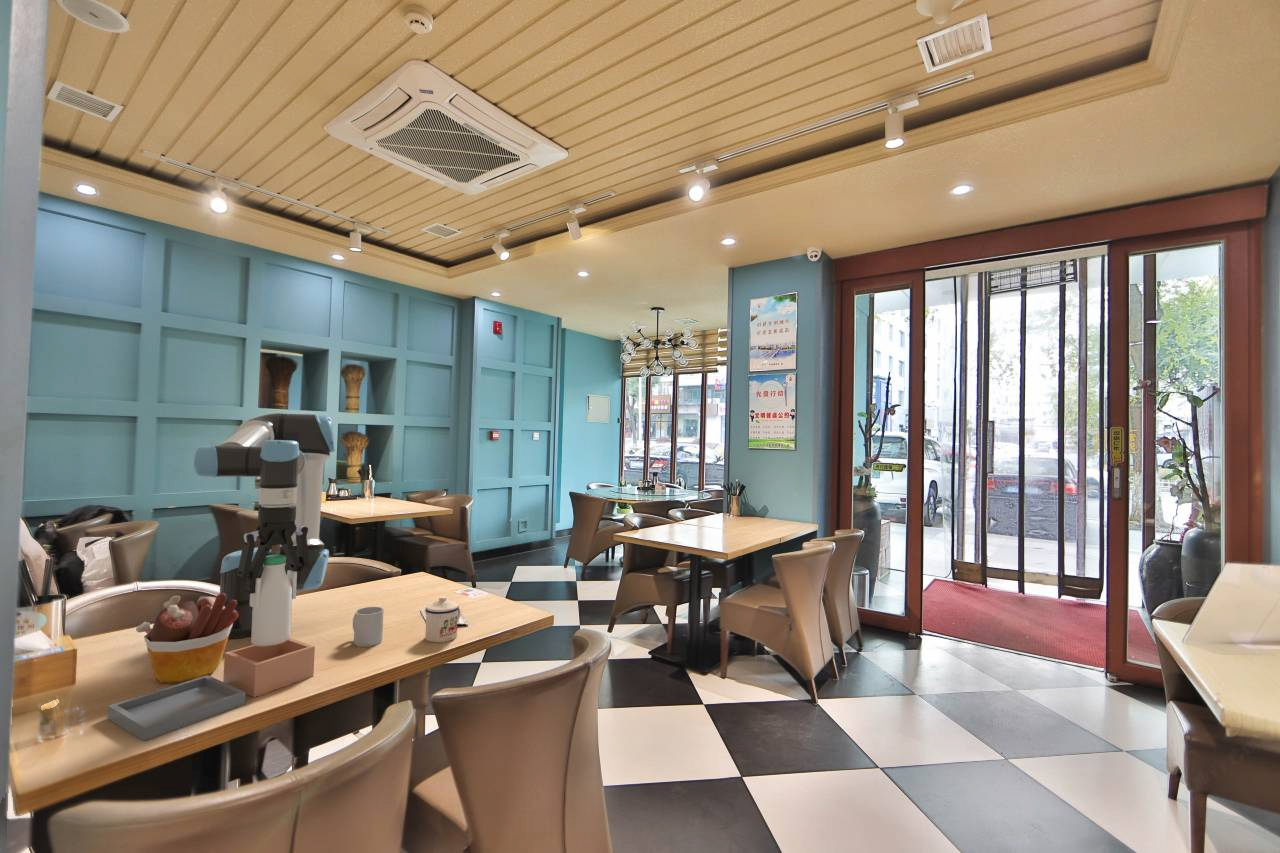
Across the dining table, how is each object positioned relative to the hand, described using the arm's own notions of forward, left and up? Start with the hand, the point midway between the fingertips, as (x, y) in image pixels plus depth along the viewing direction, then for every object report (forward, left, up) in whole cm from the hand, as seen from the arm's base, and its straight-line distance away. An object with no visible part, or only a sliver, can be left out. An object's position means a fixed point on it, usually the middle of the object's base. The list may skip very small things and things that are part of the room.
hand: (273, 602), depth 129 cm
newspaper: (-1, +53, -19) cm, 56 cm away
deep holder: (0, 0, -18) cm, 18 cm away
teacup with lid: (+12, +42, -18) cm, 47 cm away
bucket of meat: (-18, -8, -18) cm, 27 cm away
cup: (-3, +27, -18) cm, 33 cm away
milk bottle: (0, 0, -9) cm, 9 cm away
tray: (0, -18, -18) cm, 25 cm away
